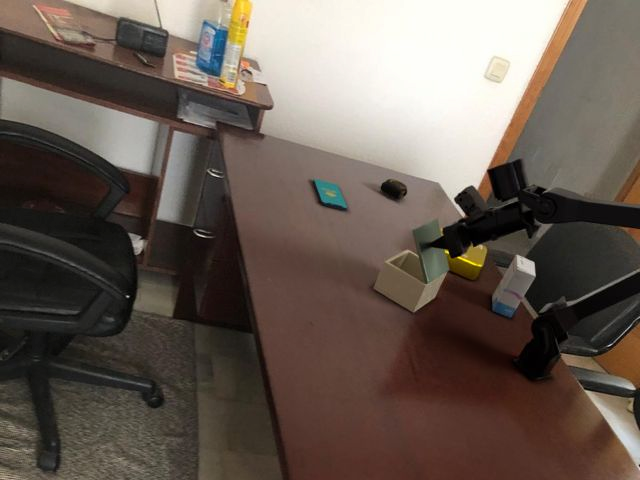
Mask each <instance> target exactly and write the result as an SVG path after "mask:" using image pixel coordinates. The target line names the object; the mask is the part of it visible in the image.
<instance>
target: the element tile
mask: <svg viewBox="0 0 640 480" xmlns="http://www.w3.org/2000/svg"><path fill="white" fill-rule="evenodd" d="M439 227H440V231H441V235H442V236H443V232H442V228H444V226H440V225H439ZM445 253H446V257H447V261H448V266H449V271H448V272H450V273H453V274H454V275H455V274H456V275H458V276H460V277H462V278H464V279H466V280H469V281H475V280H477V278H478V277H479V274H480V273H481V271H482V268H483V266H484V263H485V260H486V256H487V253H488V249H487V246H485V245H483V244H480V245H479V246H476V247H473V245H472V246H470V247H469V249H468V251H467V252H466V253H465V254H463V255H462V256H460V257H456V258H453V259H452V258H451V257H450V255H449V252H448V250H446V249H445Z"/></svg>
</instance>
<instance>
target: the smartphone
mask: <svg viewBox="0 0 640 480" xmlns="http://www.w3.org/2000/svg"><path fill="white" fill-rule="evenodd" d="M312 183H313V185H314V188H315V191H316V194H317V196H318V199H319V202H320V204H321V205H323V206H324V207H325V206H327V207H330V208H333V209H337V210H342V211H347V210H348V205H347V203H346V201H345V198H344V195H343V193H342V191H341V189H340V187H339V185H338V184H336V183H332V182H329V181H326V180H321V179H317V178H314V179H313V181H312Z"/></svg>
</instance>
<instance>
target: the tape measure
mask: <svg viewBox="0 0 640 480" xmlns="http://www.w3.org/2000/svg"><path fill="white" fill-rule="evenodd" d="M380 191H381V192H383V193H384V194H386V195H387V196H388V197H390V198H393V199H394V200H396V201H400V200H403V199H404V198H405V197H406V196H407V195H408V186H407V185H406V184H405V183H404V182H402V181H399V180H397V179H394V178H392V179H391V178H389V179H386V180H385V181H383V182H382V183H381V184H380Z"/></svg>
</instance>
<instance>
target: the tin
mask: <svg viewBox="0 0 640 480" xmlns="http://www.w3.org/2000/svg"><path fill="white" fill-rule="evenodd" d="M447 273H448V271H447V272H446V273H444V274H443V275H441V276H440V277H438V278H436V279H435V280H433V281H432V282H430V283H429V284H425V281H424V277H423V273H422V269H421V265H420V261H419V257H418V254H417V253H414V252H413V251H411V250H410V249H406V250H404V251H402V252H400V253H398V254H395V255H393V256H392V257H390V258H388V259H386V260H384V262H383V264H382V266H381V269H380V271H379V274H378V275H377V279H376V281H375V284H374V285H373V290H375V291H377V292H378V293H380V294H381V295H383V296H385V297H387V298H388V299H390V300H391V301H393V302H395V303H396V304H398V305H399V306H401V307H403V308H405V309H407V310H408V311H410V312H411V313H413V314H414V313H415V312H417V311H418V310H419V309H421V308H422V307H424V306H425V305H427V304H428V303H430V302H432V301H433V300H434V299H435V298H436V296H437V294H438V292H439V290H440V288H441V286H442V284H443V282H444V279H445V277H446V276H447Z"/></svg>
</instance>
